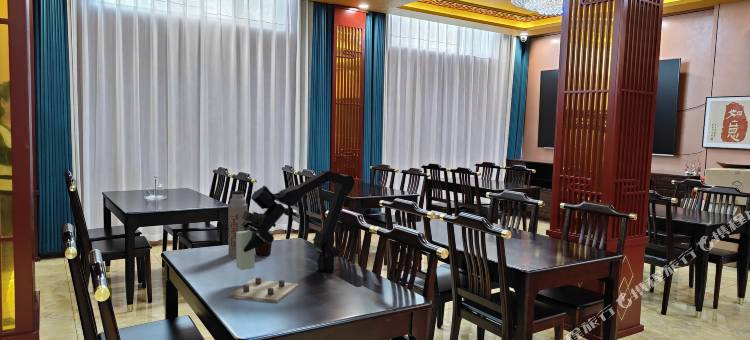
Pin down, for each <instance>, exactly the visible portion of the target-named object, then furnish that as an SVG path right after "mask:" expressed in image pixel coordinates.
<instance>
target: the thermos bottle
mask: <svg viewBox="0 0 750 340" xmlns="http://www.w3.org/2000/svg"><path fill="white" fill-rule="evenodd" d="M231 194H232V195H231V198H230V199H229V203H228V206H227V207H228V209H227V210H228V218H227V219H228V221H227V222H228V223H227V224H228V236H227V237H228V240H227V241H228V249H227V250H228V256H229V257H231V258H232V257H234V258H236V232H239V231H244V229H243V226H242V225H241V224H242V223H243V222H244V221H246V220H244V219H242V216H243V214H244V212H245V211H247V212H248V203H247V201H246V198H245V197H244V196H245V195H244V194H245V193H244V191H243V190H236V191H235V190H234V191H231Z"/></svg>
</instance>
